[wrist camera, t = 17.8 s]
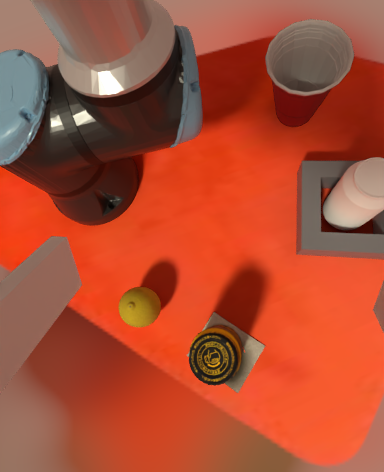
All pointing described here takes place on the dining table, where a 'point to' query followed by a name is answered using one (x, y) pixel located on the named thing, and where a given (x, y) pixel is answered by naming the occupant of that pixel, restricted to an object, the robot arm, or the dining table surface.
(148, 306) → the lemon
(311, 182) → the square frame
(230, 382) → the condiment
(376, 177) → the beverage can
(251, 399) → the dining table surface
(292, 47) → the plastic cup
